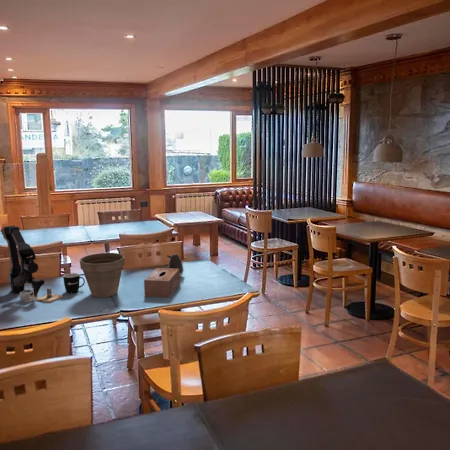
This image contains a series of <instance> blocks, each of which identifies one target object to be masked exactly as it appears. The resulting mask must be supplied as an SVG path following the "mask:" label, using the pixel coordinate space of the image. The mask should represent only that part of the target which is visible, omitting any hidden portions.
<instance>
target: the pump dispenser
mask: <svg viewBox="0 0 450 450" xmlns="http://www.w3.org/2000/svg"><path fill="white" fill-rule="evenodd" d="M166 257H167V258H169V261H168V264H167V265H168V266H167V268H174V269H179V275H180V277H181V276H183V273H184V265H183V262H182V259H181V257H180V255H179V254H176V253H172V255H169V254H168V255H166Z"/></svg>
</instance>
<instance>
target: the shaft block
mask: <svg viewBox="0 0 450 450" xmlns="http://www.w3.org/2000/svg"><path fill="white" fill-rule="evenodd" d="M62 298H63V295H61V294H54V293H52V288H51V287H48V288H46V294H45V295H42V296H39V297H38V298H37V299H36V300H35V301H36V302H45V303H50V304H51V303H53V302H56V301H57V300H60V299H62Z"/></svg>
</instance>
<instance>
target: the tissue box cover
mask: <svg viewBox="0 0 450 450" xmlns="http://www.w3.org/2000/svg"><path fill="white" fill-rule="evenodd" d="M180 277H181V276H180V275H179V269H174V268H168V267H156V268H155V269H154V270H153V271H152V272H151V273H150V274H148V275H147V277H146V278H145V279H144V280H143V286H144V287H143V288H144V290H143V291H144V297H152V298H170V297H171V296H172V294H173V293H174V292H175V291H176V289H177V288H178V287H179V286H180V285H181V283H180Z"/></svg>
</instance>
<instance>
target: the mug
mask: <svg viewBox="0 0 450 450" xmlns="http://www.w3.org/2000/svg"><path fill="white" fill-rule="evenodd" d="M62 278H63V285H64V289H65V292H66V293H67V294H76V293H77V292H79V289H80V288H83V286H85V284H86V279H85V277H83V276H80V274H79V273H76V272H71V273H65V274H64V275H63V277H62ZM80 279H82V280H83V283H82V284H81V285H80Z"/></svg>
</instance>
